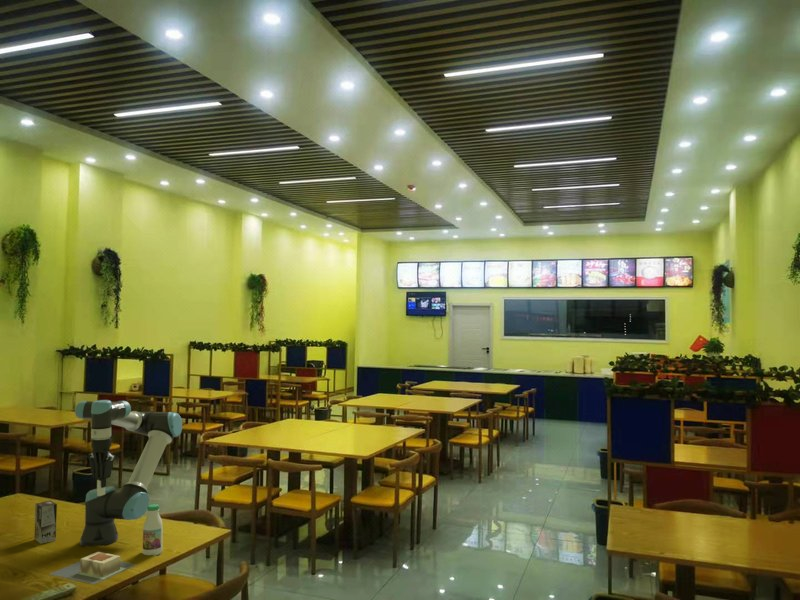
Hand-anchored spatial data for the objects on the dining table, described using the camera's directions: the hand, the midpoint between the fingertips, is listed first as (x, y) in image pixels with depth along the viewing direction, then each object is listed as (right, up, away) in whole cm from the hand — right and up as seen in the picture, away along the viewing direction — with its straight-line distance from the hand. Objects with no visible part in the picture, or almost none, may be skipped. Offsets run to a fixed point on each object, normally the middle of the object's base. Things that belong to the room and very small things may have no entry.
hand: (101, 495), depth 247 cm
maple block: (+2, -22, -14) cm, 26 cm away
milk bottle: (+20, -26, +4) cm, 33 cm away
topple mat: (+4, -25, -15) cm, 29 cm away
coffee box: (-35, -27, +20) cm, 49 cm away
